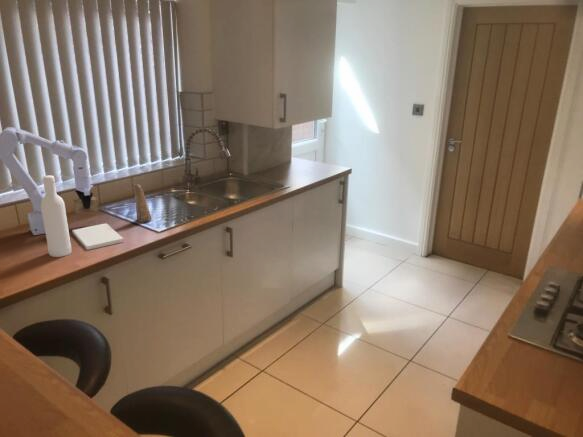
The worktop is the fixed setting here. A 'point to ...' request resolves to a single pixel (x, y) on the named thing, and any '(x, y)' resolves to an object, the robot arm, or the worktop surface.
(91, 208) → the walnut block
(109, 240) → the cutting board
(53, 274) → the worktop surface
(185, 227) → the worktop surface
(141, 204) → the tan tapered horn
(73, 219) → the worktop surface
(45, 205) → the bottle
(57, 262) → the worktop surface
